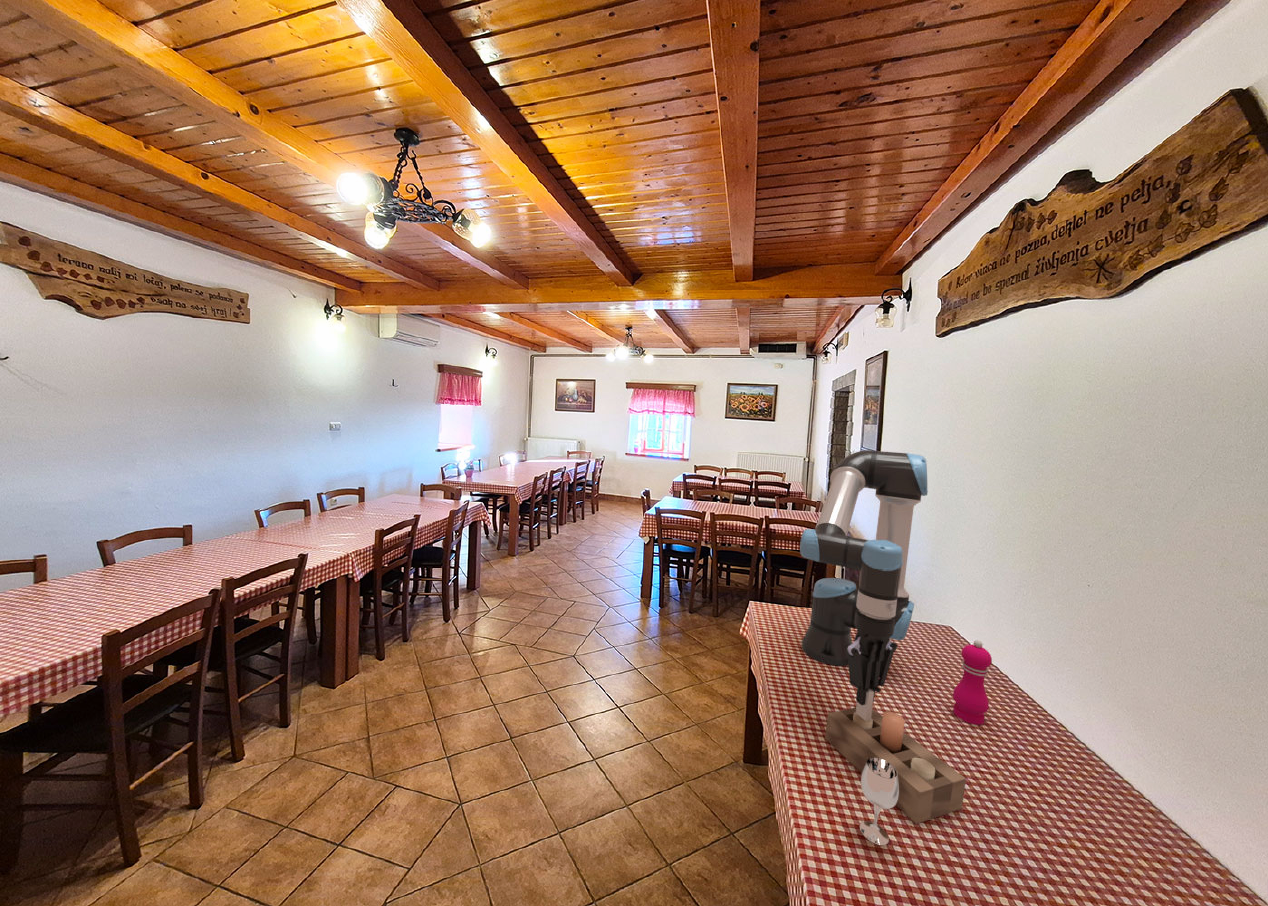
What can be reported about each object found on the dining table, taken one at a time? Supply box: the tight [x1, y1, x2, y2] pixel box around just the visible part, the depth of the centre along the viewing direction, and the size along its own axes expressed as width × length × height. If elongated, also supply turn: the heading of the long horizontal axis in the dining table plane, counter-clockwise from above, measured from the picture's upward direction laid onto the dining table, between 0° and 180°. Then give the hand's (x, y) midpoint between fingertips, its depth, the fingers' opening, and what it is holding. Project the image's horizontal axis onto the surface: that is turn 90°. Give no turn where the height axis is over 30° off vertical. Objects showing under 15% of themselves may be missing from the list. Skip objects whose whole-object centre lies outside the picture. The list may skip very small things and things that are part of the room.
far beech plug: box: [853, 712, 873, 730], centre depth 98 cm, size 4×4×6 cm
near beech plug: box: [911, 758, 935, 782], centre depth 85 cm, size 4×4×6 cm
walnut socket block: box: [824, 707, 967, 825], centre depth 92 cm, size 22×12×6 cm, turn 20°
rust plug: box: [880, 711, 906, 752], centre depth 91 cm, size 4×4×6 cm
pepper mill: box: [952, 639, 993, 726], centre depth 111 cm, size 7×7×20 cm
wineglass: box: [859, 758, 899, 846], centre depth 77 cm, size 6×6×12 cm
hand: (863, 716), depth 98 cm, fingers closed
